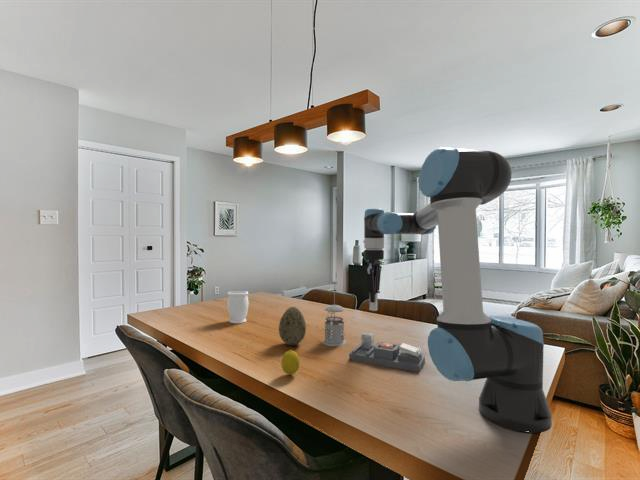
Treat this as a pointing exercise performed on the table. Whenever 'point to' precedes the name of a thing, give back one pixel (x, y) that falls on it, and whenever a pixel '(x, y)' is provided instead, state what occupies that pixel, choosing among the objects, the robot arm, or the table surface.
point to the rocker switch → (410, 349)
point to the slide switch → (367, 340)
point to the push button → (386, 346)
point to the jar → (237, 306)
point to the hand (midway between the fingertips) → (373, 310)
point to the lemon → (290, 362)
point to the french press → (334, 325)
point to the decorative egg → (292, 326)
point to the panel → (388, 357)
